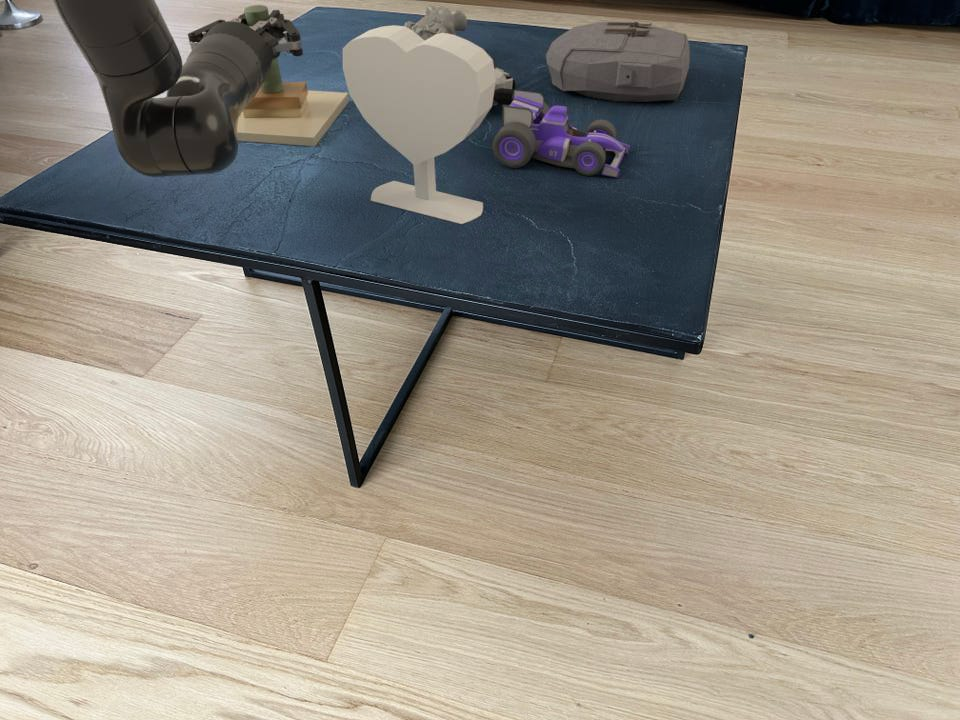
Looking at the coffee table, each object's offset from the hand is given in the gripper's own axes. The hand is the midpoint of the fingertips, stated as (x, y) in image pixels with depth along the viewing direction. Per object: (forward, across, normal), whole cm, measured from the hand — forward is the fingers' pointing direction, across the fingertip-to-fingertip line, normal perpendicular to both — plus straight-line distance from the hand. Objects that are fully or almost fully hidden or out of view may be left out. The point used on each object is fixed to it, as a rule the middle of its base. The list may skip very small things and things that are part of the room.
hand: (264, 18), depth 95 cm
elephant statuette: (+17, -20, +12) cm, 29 cm away
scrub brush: (-3, 0, +11) cm, 11 cm away
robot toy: (+1, -25, +12) cm, 28 cm away
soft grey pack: (+8, -46, +12) cm, 48 cm away
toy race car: (-14, -38, +12) cm, 42 cm away
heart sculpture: (-24, -22, +12) cm, 35 cm away
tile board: (-2, +2, +12) cm, 12 cm away
